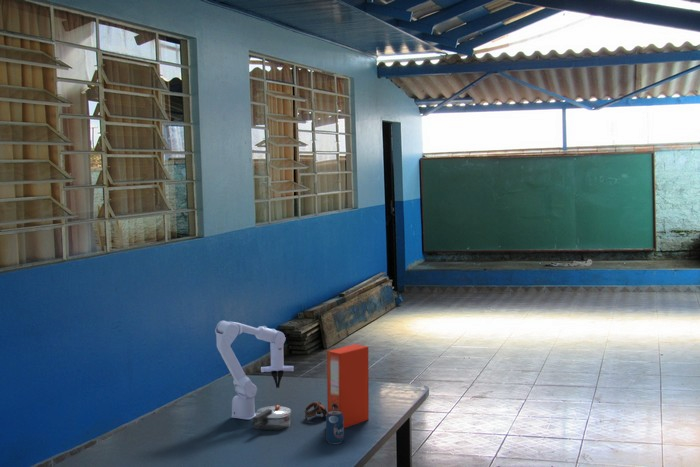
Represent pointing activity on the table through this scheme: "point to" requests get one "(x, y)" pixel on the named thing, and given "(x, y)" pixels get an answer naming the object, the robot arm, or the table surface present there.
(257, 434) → the table surface
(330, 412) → the soda can
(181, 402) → the table surface
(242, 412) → the robot arm
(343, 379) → the file binder
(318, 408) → the pottery mug
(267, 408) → the cooker lid
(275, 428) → the cooker pot
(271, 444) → the table surface
